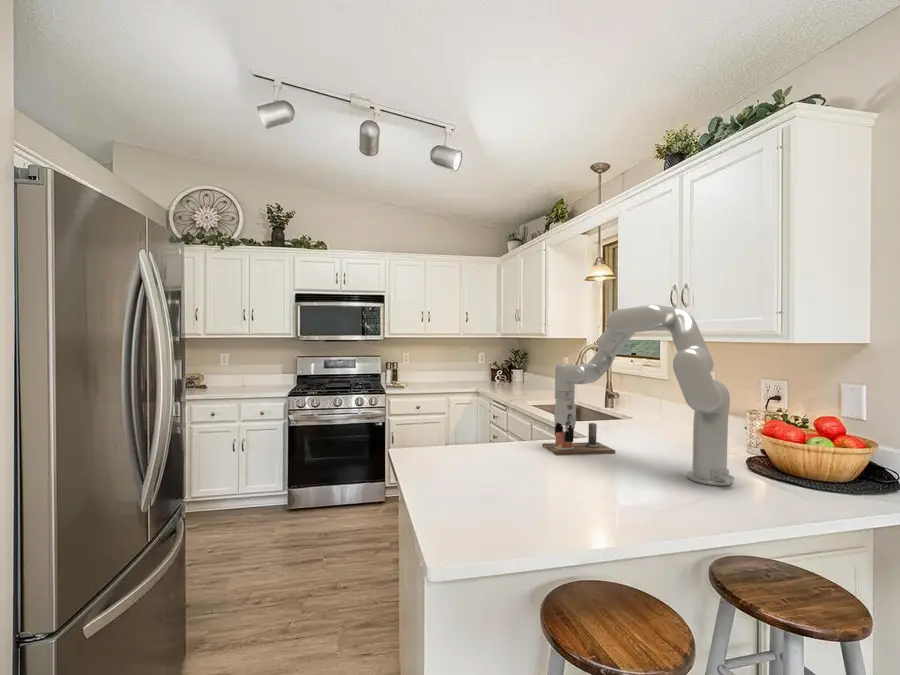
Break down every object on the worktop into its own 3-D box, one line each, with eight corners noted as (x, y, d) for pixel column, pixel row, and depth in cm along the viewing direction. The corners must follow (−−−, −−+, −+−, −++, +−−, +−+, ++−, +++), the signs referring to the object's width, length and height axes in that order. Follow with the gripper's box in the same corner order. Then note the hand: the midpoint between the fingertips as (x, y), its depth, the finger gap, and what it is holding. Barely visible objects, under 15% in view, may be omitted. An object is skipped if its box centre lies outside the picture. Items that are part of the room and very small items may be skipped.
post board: (615, 453, 179) (615, 427, 179) (556, 455, 174) (556, 428, 174) (597, 445, 192) (598, 420, 192) (542, 446, 188) (543, 421, 188)
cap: (567, 449, 177) (568, 436, 177) (552, 446, 181) (552, 434, 181) (575, 445, 184) (575, 432, 184) (559, 443, 187) (559, 430, 187)
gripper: (583, 398, 174) (582, 443, 174) (564, 392, 191) (563, 434, 192) (564, 398, 173) (563, 444, 173) (547, 392, 190) (546, 434, 190)
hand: (563, 438), depth 182 cm, fingers open, 9 cm apart
